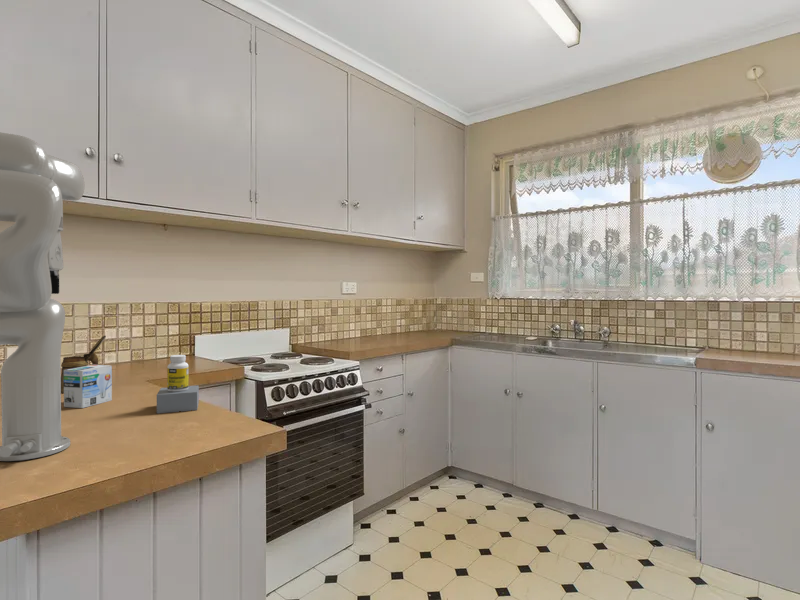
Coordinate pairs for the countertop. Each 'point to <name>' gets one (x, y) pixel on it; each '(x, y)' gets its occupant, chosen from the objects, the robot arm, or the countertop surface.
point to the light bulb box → (87, 386)
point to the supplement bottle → (177, 374)
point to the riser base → (178, 400)
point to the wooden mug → (79, 361)
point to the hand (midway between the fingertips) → (44, 293)
